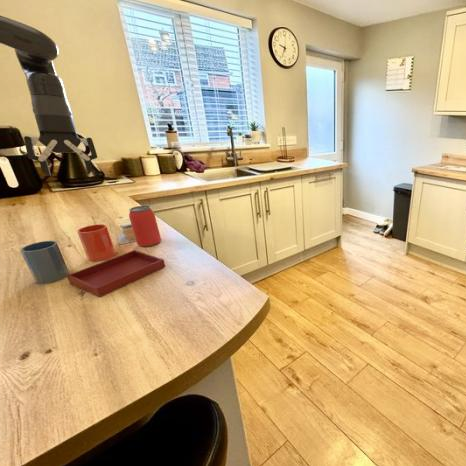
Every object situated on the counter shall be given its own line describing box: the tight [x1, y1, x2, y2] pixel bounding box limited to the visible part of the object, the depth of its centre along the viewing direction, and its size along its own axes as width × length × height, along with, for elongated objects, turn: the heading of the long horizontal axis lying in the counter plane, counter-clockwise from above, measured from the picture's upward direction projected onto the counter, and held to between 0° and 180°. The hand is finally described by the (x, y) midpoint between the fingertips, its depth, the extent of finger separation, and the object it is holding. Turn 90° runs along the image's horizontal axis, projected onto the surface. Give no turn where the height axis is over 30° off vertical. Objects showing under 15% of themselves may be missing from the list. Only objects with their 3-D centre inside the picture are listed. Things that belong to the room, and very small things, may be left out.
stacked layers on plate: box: [116, 218, 137, 245], centre depth 98 cm, size 10×9×6 cm
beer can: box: [128, 205, 162, 247], centre depth 92 cm, size 7×7×12 cm
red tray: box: [66, 249, 166, 298], centre depth 76 cm, size 16×13×2 cm
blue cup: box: [20, 240, 71, 285], centre depth 73 cm, size 6×6×9 cm
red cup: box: [76, 223, 117, 262], centre depth 84 cm, size 6×7×9 cm
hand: (69, 174), depth 83 cm, fingers open, 8 cm apart
